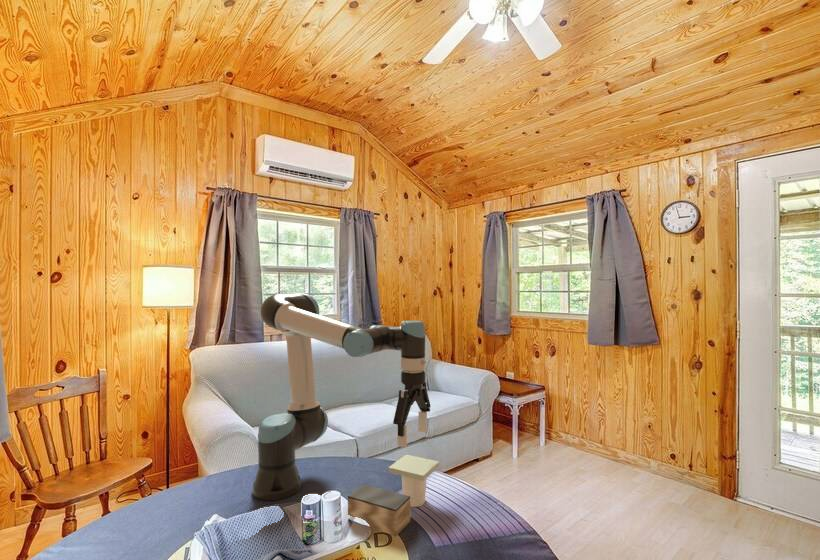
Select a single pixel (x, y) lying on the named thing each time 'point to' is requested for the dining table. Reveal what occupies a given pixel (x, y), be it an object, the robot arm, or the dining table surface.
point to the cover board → (414, 467)
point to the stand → (380, 508)
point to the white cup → (414, 490)
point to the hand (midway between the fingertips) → (412, 438)
